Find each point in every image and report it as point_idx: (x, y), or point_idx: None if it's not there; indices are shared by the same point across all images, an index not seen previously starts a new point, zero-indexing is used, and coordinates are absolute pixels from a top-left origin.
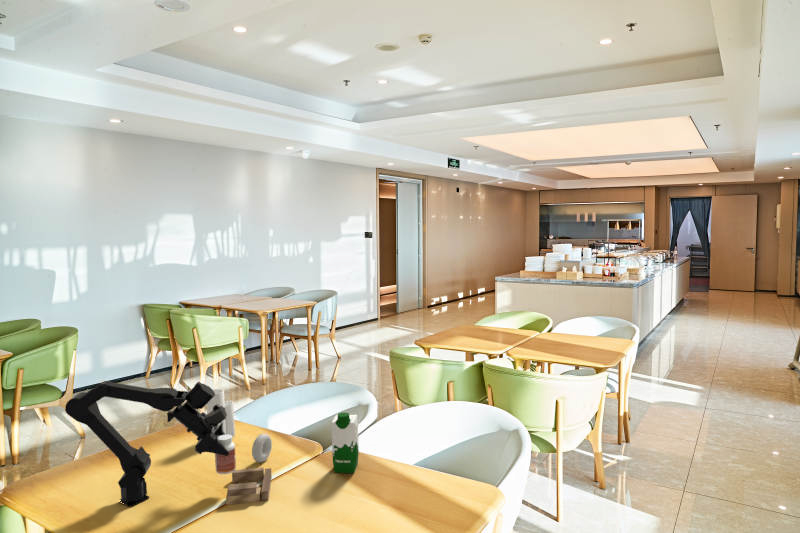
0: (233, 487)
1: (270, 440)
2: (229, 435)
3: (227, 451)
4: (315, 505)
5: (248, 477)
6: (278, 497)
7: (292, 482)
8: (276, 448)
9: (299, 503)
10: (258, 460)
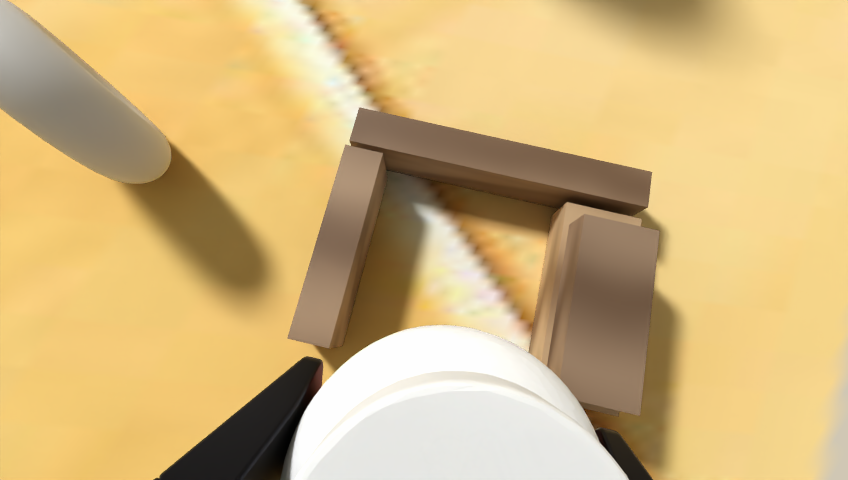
0: (613, 368)
1: (27, 14)
2: (399, 448)
3: (632, 464)
4: (736, 15)
5: (363, 249)
6: (608, 142)
7: (476, 55)
8: None
9: (698, 69)
10: (170, 160)
